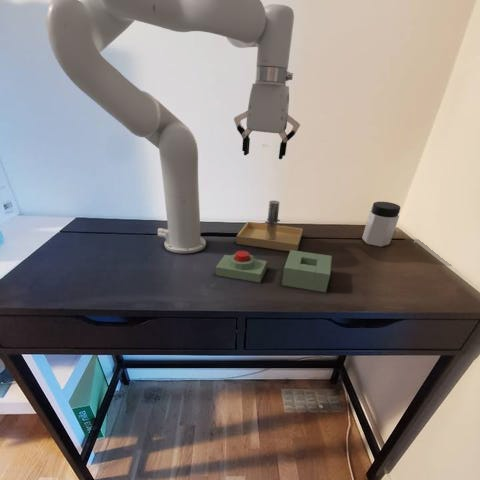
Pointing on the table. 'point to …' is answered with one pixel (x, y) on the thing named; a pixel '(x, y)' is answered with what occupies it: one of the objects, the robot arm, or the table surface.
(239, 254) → the stop button
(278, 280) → the table surface
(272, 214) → the grey peg
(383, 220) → the jar
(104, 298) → the table surface
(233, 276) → the stop block
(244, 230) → the tray
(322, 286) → the green slotted base
